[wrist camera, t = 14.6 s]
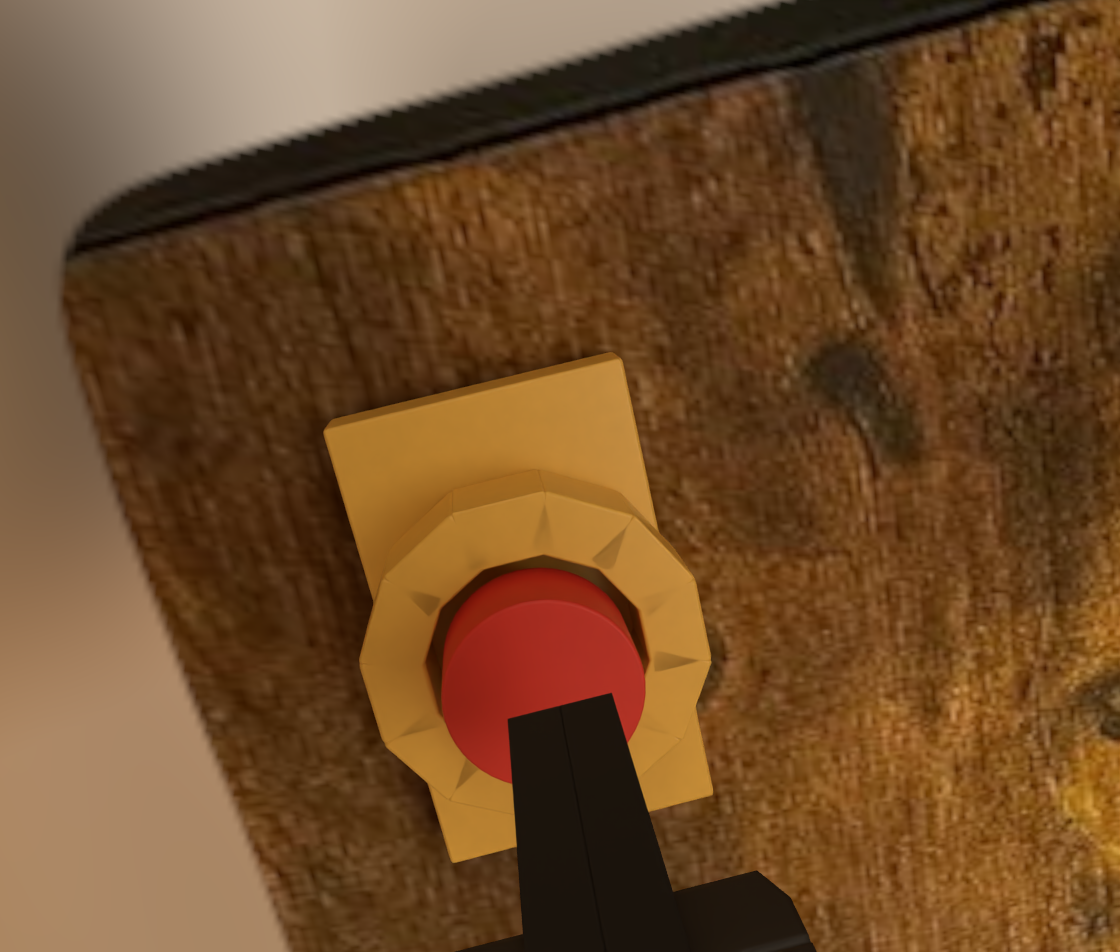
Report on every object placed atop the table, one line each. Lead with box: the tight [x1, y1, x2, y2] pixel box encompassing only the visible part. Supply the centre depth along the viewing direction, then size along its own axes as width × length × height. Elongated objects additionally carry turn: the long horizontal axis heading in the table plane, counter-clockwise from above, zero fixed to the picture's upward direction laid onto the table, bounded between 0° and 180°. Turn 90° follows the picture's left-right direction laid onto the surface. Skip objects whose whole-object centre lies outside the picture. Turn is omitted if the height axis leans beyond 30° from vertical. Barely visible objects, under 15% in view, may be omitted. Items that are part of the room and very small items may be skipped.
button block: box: [323, 352, 713, 863], centre depth 19 cm, size 10×6×3 cm, turn 13°
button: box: [441, 568, 646, 784], centre depth 17 cm, size 4×4×2 cm
